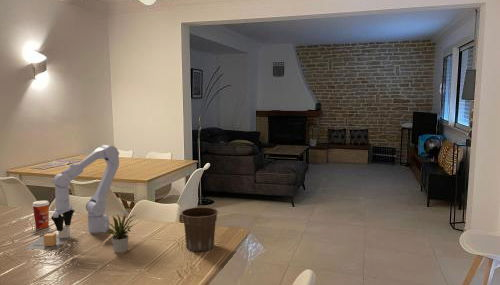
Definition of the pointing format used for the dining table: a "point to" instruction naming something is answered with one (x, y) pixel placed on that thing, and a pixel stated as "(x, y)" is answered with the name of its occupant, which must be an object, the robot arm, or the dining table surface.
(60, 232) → the grey fader
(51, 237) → the orange fader
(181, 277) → the dining table surface
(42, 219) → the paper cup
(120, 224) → the house plant
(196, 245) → the plant pot
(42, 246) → the console
